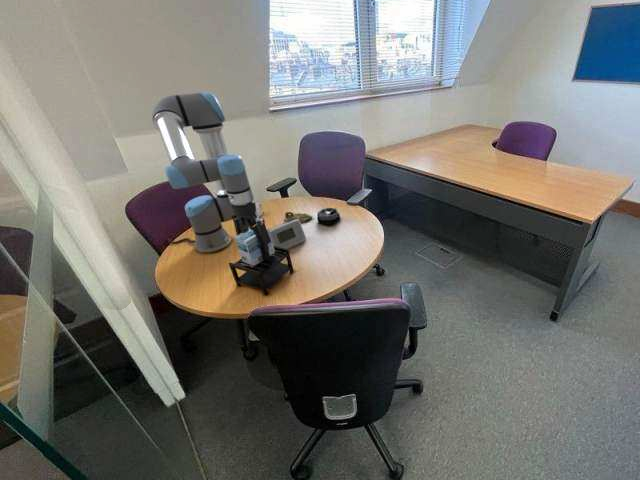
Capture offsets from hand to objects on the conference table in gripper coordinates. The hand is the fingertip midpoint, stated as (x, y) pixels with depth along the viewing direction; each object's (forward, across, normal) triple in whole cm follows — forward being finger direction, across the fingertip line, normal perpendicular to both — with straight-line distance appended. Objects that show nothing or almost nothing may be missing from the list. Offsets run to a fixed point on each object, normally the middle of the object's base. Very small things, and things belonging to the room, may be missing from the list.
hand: (259, 256), depth 118 cm
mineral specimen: (+11, -45, +39) cm, 61 cm away
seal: (+11, -20, +46) cm, 52 cm away
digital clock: (+11, -7, +23) cm, 27 cm away
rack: (+11, 0, 0) cm, 11 cm away
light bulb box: (0, 0, 0) cm, 0 cm away
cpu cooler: (+11, -3, +50) cm, 52 cm away
